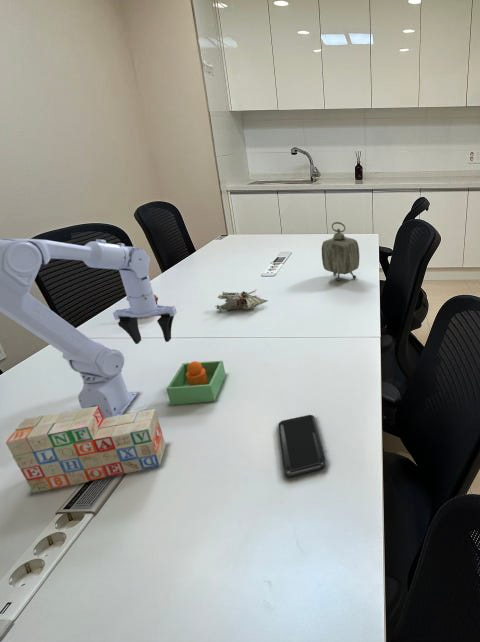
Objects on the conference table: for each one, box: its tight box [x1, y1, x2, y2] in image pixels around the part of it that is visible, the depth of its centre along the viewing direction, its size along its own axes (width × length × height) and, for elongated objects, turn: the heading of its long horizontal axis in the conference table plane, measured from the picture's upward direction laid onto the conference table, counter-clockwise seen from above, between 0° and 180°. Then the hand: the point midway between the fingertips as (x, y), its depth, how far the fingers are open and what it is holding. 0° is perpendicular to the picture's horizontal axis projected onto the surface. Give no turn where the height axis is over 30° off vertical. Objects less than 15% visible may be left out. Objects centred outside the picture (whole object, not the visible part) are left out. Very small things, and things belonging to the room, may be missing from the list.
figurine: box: [214, 288, 269, 311], centre depth 143 cm, size 20×6×17 cm
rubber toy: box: [186, 360, 208, 386], centre depth 96 cm, size 4×4×7 cm
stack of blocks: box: [5, 406, 166, 494], centre depth 73 cm, size 21×6×12 cm, turn 105°
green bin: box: [166, 360, 227, 406], centre depth 97 cm, size 11×10×5 cm
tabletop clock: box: [321, 221, 360, 281], centre depth 165 cm, size 14×9×25 cm, turn 58°
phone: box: [278, 414, 327, 478], centre depth 79 cm, size 8×1×15 cm
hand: (153, 341), depth 102 cm, fingers open, 7 cm apart
